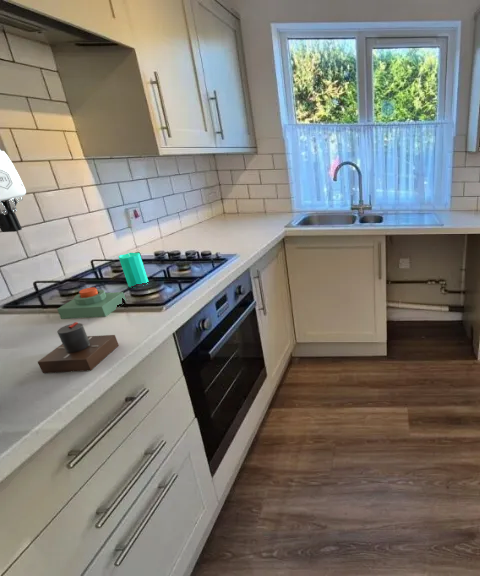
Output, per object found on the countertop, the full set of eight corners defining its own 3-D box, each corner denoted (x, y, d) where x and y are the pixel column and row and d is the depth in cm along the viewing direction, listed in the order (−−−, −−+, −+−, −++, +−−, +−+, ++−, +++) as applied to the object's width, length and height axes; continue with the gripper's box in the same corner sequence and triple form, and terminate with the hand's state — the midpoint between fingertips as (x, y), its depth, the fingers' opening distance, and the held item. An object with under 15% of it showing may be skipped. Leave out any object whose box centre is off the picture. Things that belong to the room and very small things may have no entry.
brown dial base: (42, 373, 78) (36, 361, 76) (76, 347, 87) (71, 336, 85) (91, 370, 78) (85, 358, 77) (119, 345, 87) (114, 334, 86)
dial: (82, 352, 79) (73, 331, 77) (60, 353, 79) (51, 332, 77) (94, 341, 83) (86, 321, 81) (74, 342, 83) (65, 322, 81)
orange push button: (77, 298, 102) (75, 293, 101) (87, 293, 105) (85, 287, 105) (92, 298, 102) (90, 292, 101) (101, 292, 106) (99, 286, 105)
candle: (152, 282, 124) (141, 249, 119) (133, 288, 119) (121, 254, 114) (143, 279, 127) (133, 246, 122) (125, 285, 122) (113, 251, 117)
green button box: (61, 319, 101) (54, 303, 99) (85, 303, 110) (80, 288, 108) (105, 316, 101) (99, 300, 99) (126, 301, 110) (121, 286, 108)
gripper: (-45, 146, 69) (-1, 239, 76) (22, 143, 82) (54, 222, 90) (-86, 147, 68) (-38, 240, 76) (-12, 144, 82) (22, 223, 89)
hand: (12, 230), depth 83 cm, fingers closed
